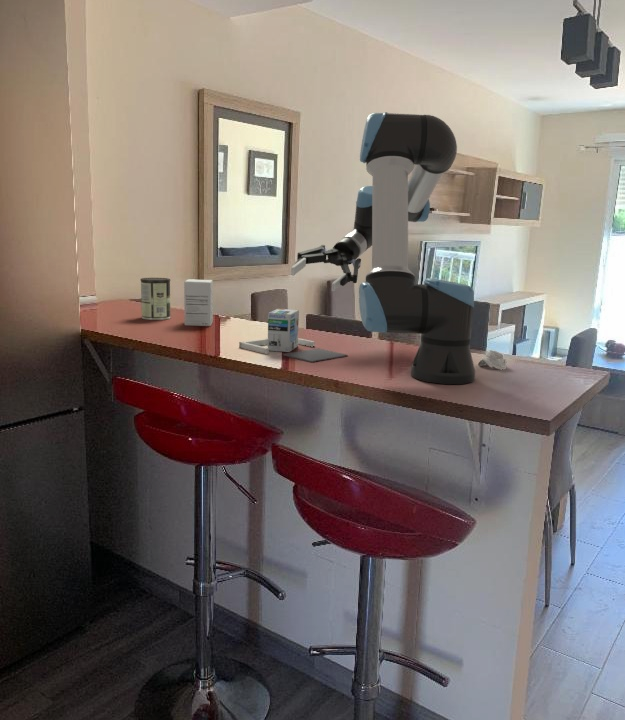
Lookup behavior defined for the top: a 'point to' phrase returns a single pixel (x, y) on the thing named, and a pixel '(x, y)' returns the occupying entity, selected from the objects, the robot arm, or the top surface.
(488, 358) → the whitish grey rock
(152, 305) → the coffee can
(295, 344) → the light bulb box
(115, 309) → the top surface
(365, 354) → the top surface
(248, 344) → the grey bent bar
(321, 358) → the rubber mat
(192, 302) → the supplement box
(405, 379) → the top surface
